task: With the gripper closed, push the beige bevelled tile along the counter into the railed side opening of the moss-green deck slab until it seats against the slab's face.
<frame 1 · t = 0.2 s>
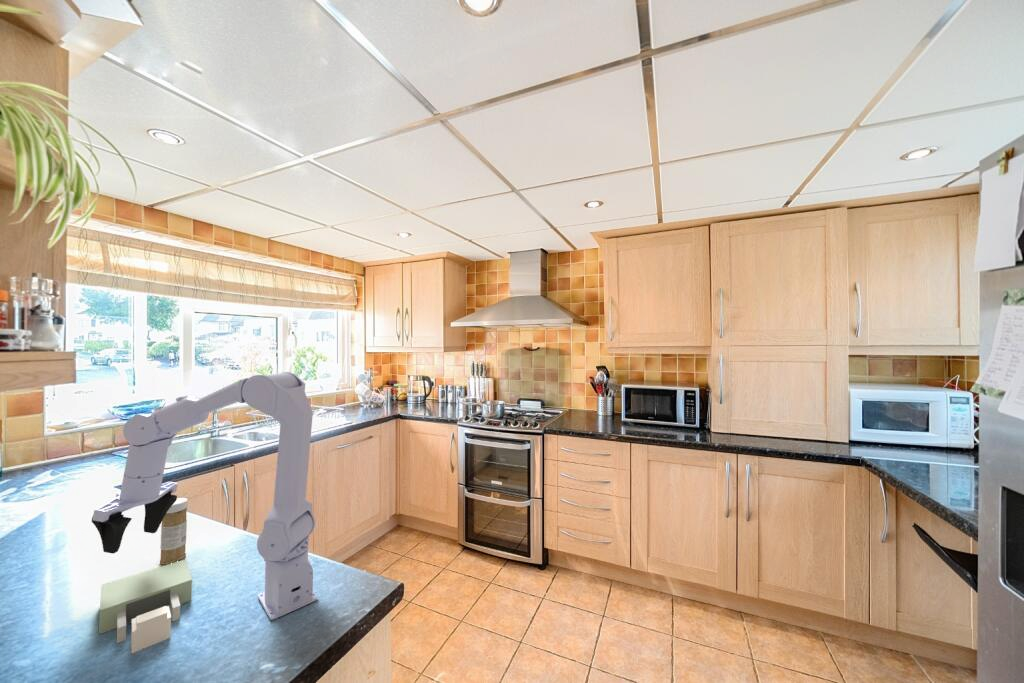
hand: (131, 541, 74), 10 cm above the countertop, tool pointing down, fingers open, 7 cm apart
deck: (146, 603, 71), on the countertop
beige bevelled tile: (150, 639, 63), on the countertop
sprinkles bottle: (172, 560, 86), on the countertop
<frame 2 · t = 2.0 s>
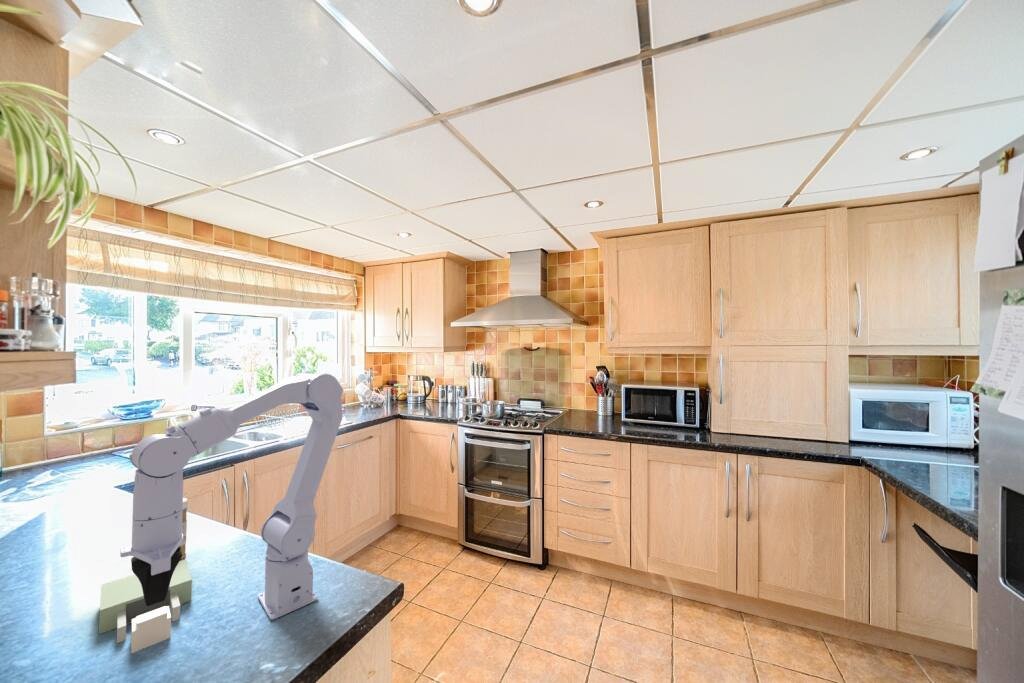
hand: (155, 601, 58), 9 cm above the countertop, tool pointing down, fingers closed
nothing on the countertop moved.
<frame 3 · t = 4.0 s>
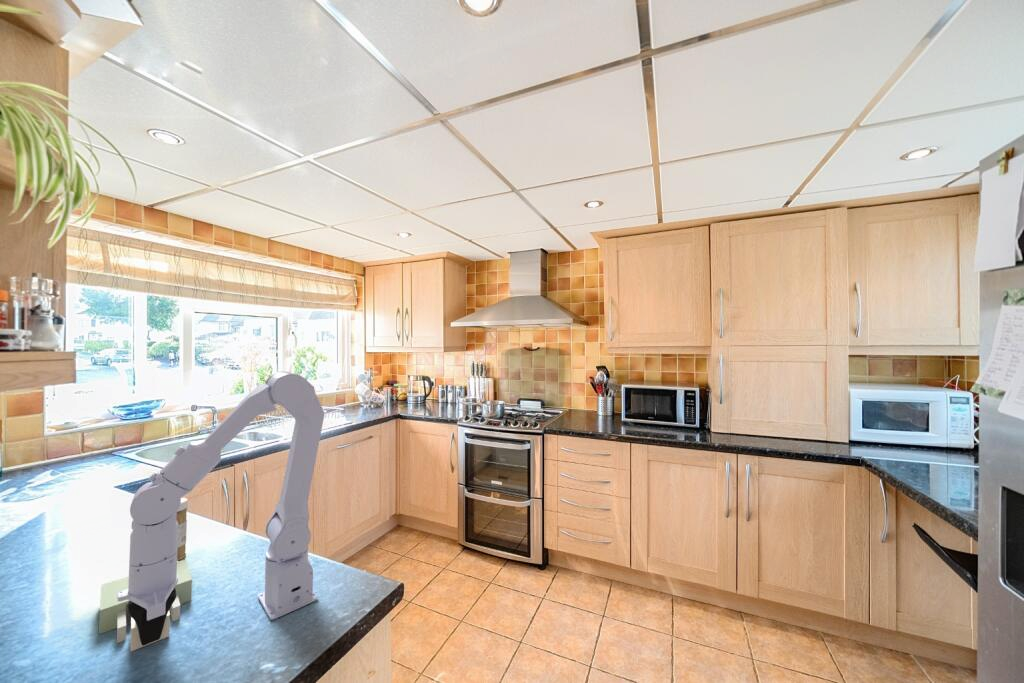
hand: (150, 641, 61), 1 cm above the countertop, tool pointing down, fingers closed, pressing on beige bevelled tile
beige bevelled tile: (149, 637, 63), on the countertop, touching gripper
everything else where it was.
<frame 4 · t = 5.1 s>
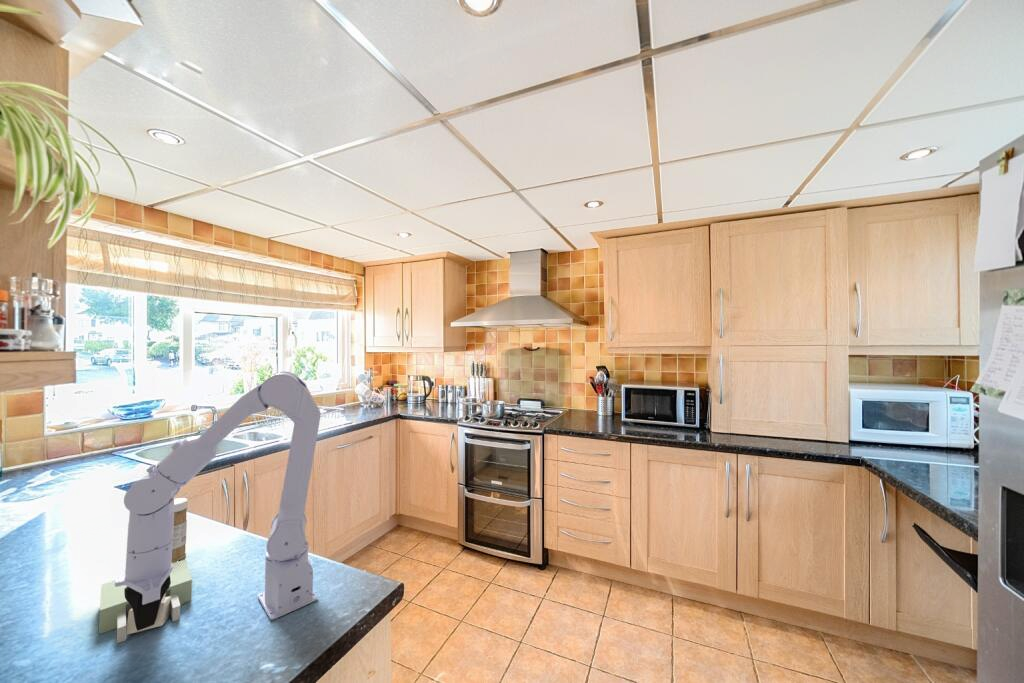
hand: (145, 626, 64), 1 cm above the countertop, tool pointing down, fingers closed, pressing on beige bevelled tile
beige bevelled tile: (148, 625, 65), on the countertop, tilted 15°, touching deck, gripper
everything else where it was.
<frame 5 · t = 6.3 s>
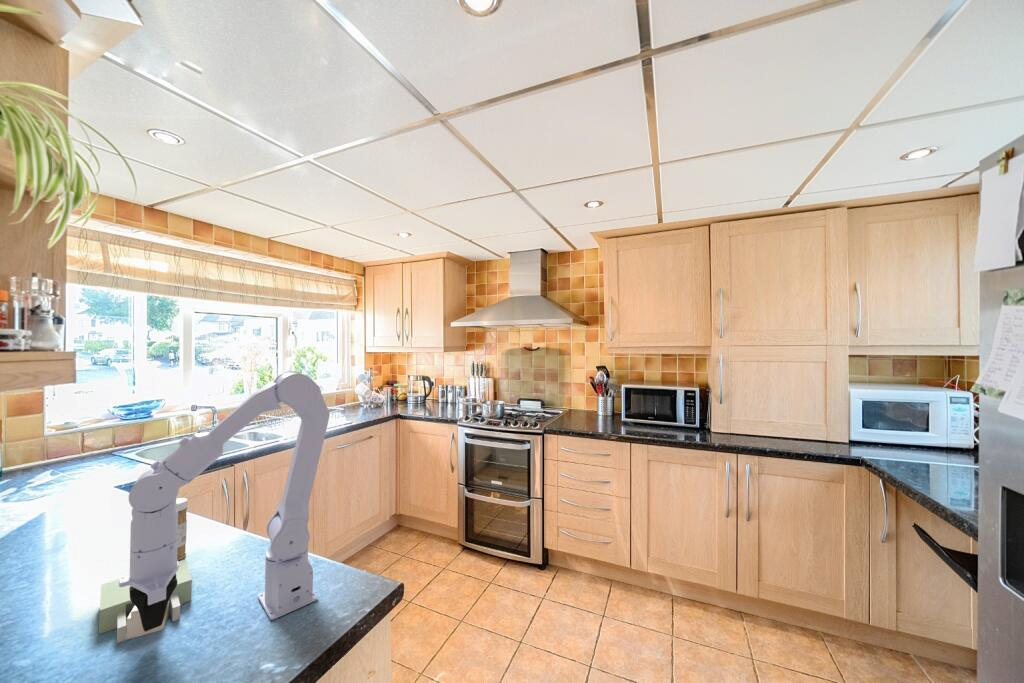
hand: (152, 626, 62), 3 cm above the countertop, tool pointing down, fingers closed
beige bevelled tile: (148, 627, 66), on the countertop
everything else where it was.
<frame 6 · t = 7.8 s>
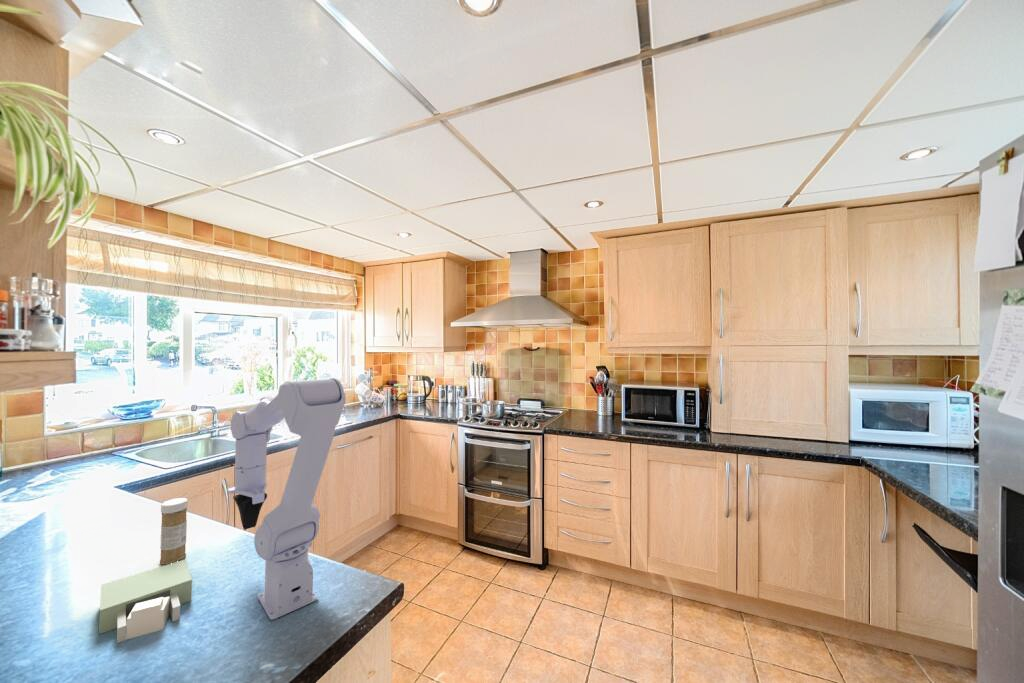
hand: (249, 527, 83), 9 cm above the countertop, tool pointing down, fingers closed
nothing on the countertop moved.
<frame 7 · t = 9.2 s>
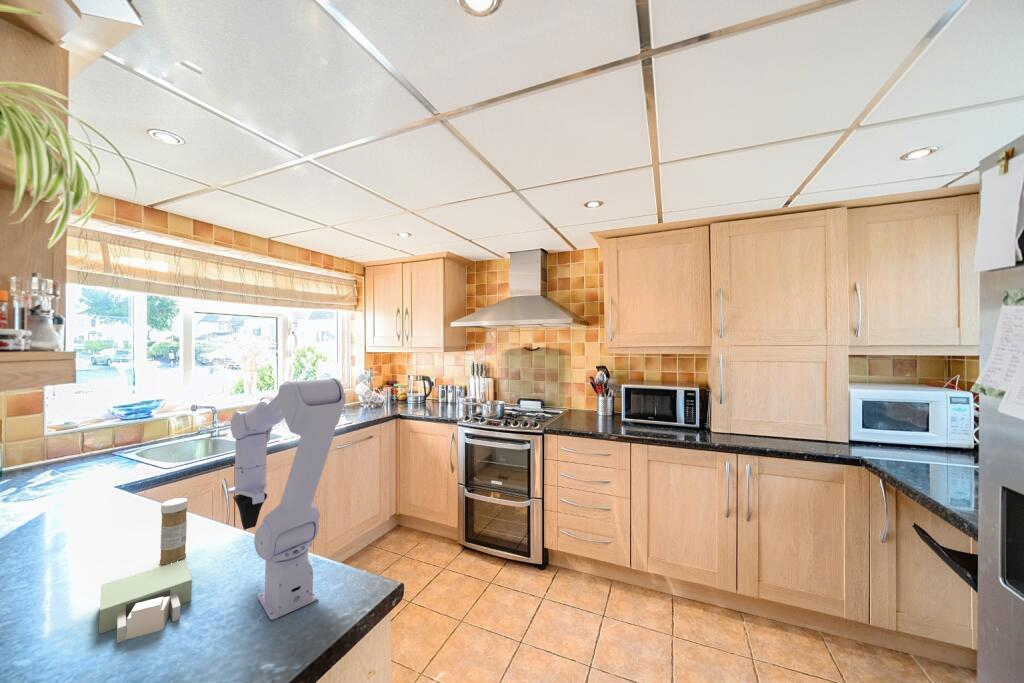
hand: (249, 527, 83), 9 cm above the countertop, tool pointing down, fingers closed
nothing on the countertop moved.
at the end: beige bevelled tile 1.4 cm from the target spot on the deck, point 0.0 cm above the deck's base; beige bevelled tile tilted 0° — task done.
